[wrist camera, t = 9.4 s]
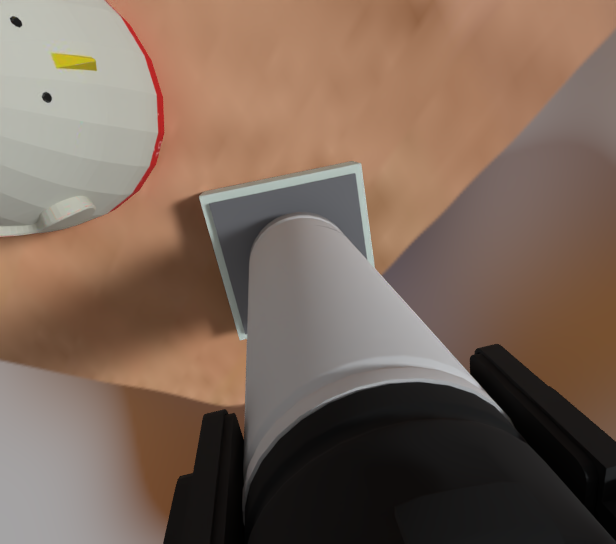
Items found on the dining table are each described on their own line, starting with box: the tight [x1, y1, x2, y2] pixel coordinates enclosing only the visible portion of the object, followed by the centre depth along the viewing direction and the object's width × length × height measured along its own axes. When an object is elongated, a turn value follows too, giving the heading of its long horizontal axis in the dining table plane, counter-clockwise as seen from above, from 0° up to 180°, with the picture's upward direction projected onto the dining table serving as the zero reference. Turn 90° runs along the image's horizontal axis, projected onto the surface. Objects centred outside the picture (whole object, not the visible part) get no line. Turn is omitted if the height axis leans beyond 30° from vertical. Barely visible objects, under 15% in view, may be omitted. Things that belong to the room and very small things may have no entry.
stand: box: [199, 161, 375, 340], centre depth 26 cm, size 10×10×2 cm
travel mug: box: [242, 212, 616, 544], centre depth 14 cm, size 6×7×20 cm
